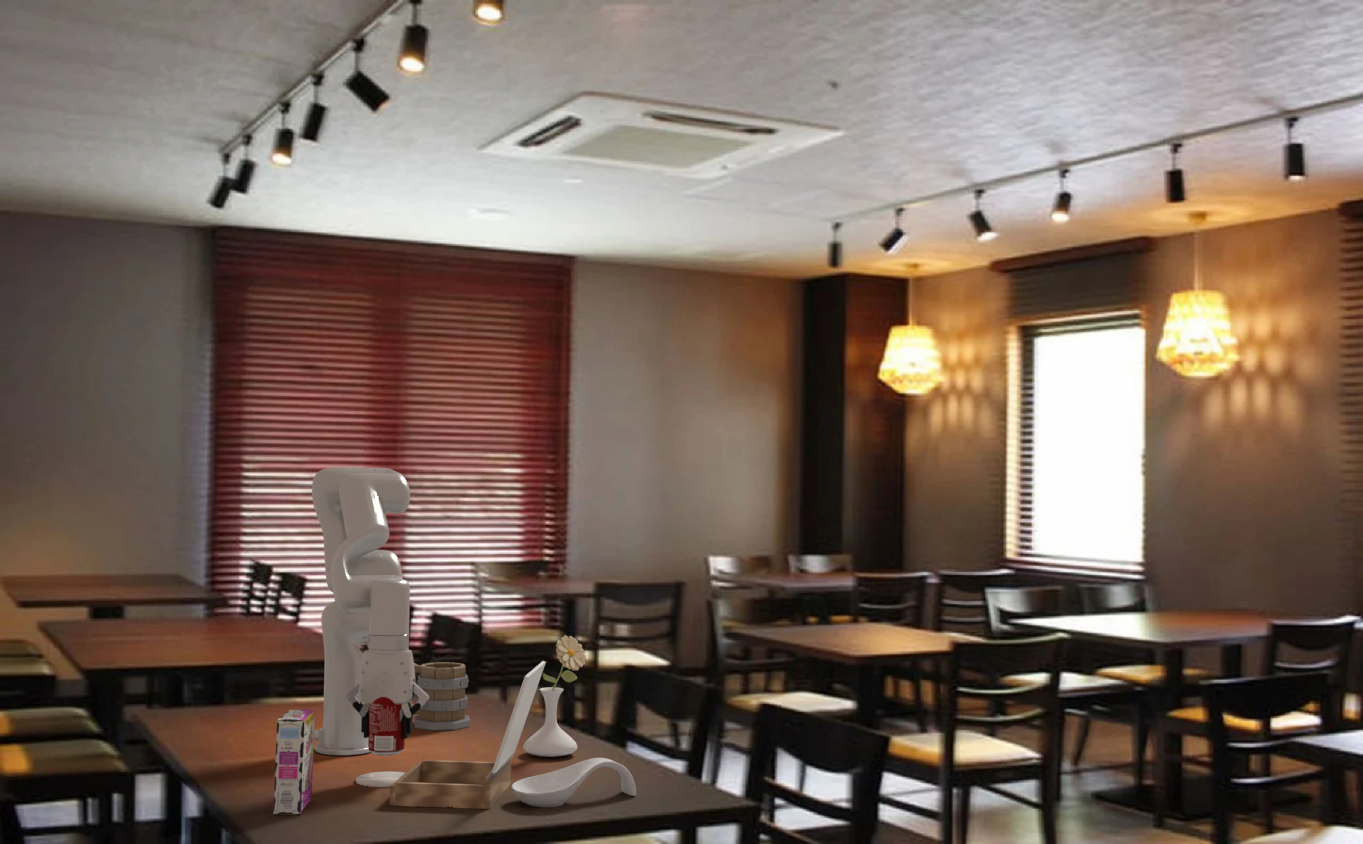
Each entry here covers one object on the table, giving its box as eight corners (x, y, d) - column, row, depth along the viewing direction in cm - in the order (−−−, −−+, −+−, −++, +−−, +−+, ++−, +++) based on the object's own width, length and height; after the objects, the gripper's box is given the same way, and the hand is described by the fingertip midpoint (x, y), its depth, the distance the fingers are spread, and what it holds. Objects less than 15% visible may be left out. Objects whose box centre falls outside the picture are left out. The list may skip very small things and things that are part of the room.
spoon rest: (527, 815, 246) (528, 774, 246) (500, 801, 256) (501, 761, 257) (645, 801, 258) (646, 762, 258) (615, 788, 268) (616, 750, 269)
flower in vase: (534, 762, 289) (537, 640, 290) (515, 752, 299) (517, 633, 300) (593, 757, 295) (595, 637, 296) (571, 747, 305) (574, 631, 306)
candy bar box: (302, 816, 242) (304, 720, 243) (272, 816, 242) (275, 719, 242) (313, 800, 253) (316, 708, 254) (285, 800, 253) (287, 708, 253)
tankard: (480, 724, 330) (481, 660, 330) (443, 732, 319) (445, 666, 320) (417, 715, 341) (418, 653, 341) (379, 722, 330) (381, 658, 330)
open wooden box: (389, 805, 250) (390, 775, 251) (417, 780, 270) (418, 752, 271) (489, 809, 249) (490, 778, 249) (510, 783, 269) (511, 755, 269)
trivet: (348, 786, 265) (348, 783, 265) (365, 773, 276) (365, 770, 276) (406, 788, 264) (406, 785, 264) (420, 775, 275) (420, 772, 275)
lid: (524, 676, 250) (528, 677, 250) (542, 660, 270) (546, 662, 270) (489, 777, 249) (493, 778, 249) (510, 754, 269) (514, 756, 269)
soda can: (395, 757, 266) (397, 693, 266) (362, 755, 267) (363, 692, 268) (409, 751, 272) (411, 688, 273) (377, 749, 274) (378, 687, 274)
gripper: (338, 644, 267) (336, 739, 267) (428, 646, 266) (426, 742, 266) (350, 640, 275) (348, 732, 274) (438, 642, 274) (436, 735, 273)
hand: (386, 736), depth 270 cm, fingers closed on soda can, 6 cm apart
